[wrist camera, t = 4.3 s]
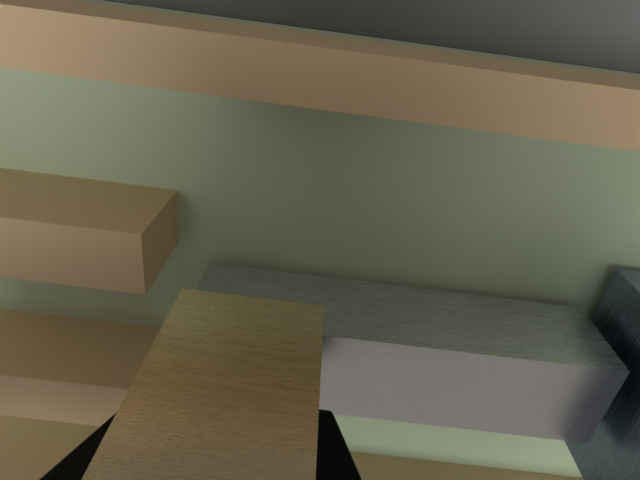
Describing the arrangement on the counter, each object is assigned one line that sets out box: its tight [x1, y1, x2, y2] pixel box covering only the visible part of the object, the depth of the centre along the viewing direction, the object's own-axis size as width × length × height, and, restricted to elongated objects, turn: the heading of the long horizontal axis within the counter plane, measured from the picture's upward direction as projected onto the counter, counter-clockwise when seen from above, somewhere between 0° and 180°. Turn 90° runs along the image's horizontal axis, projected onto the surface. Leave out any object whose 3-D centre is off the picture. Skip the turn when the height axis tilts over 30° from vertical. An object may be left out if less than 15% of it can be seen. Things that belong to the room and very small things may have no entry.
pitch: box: [0, 0, 640, 480], centre depth 13 cm, size 14×27×4 cm, turn 83°
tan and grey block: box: [81, 262, 640, 480], centre depth 9 cm, size 5×12×8 cm, turn 83°
